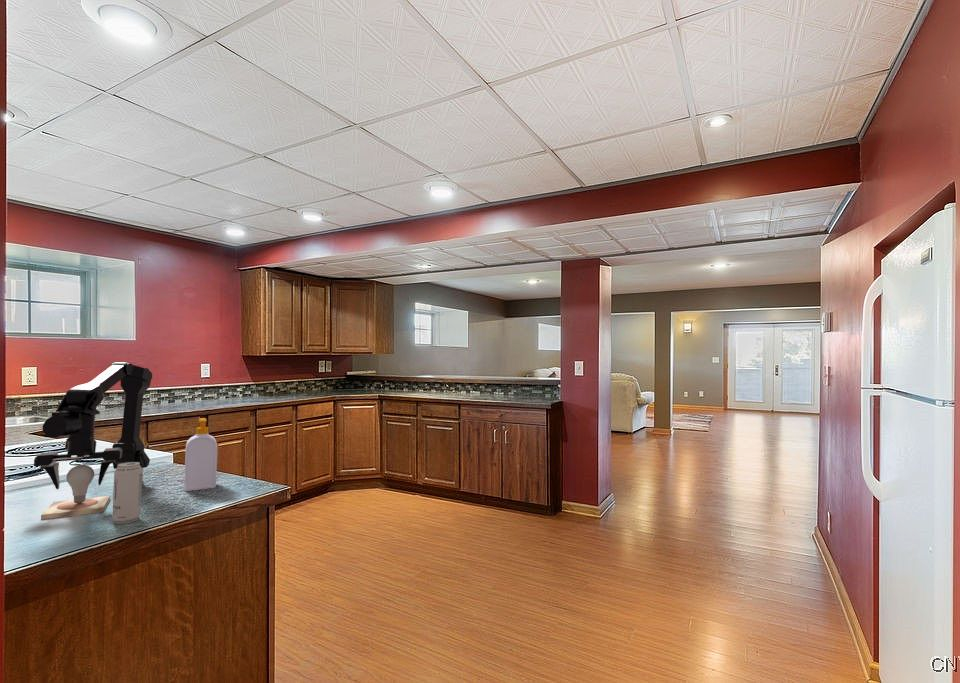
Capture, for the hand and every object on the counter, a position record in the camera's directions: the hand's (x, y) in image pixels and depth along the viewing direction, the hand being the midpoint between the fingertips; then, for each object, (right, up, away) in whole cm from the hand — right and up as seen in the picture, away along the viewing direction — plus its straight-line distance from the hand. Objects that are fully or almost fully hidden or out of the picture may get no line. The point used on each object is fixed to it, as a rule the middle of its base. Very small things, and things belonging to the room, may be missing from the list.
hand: (79, 486), depth 134 cm
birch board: (0, -6, 0) cm, 6 cm away
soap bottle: (+20, -8, +24) cm, 32 cm away
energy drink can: (+20, -6, -9) cm, 23 cm away
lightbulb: (0, -5, 0) cm, 5 cm away
